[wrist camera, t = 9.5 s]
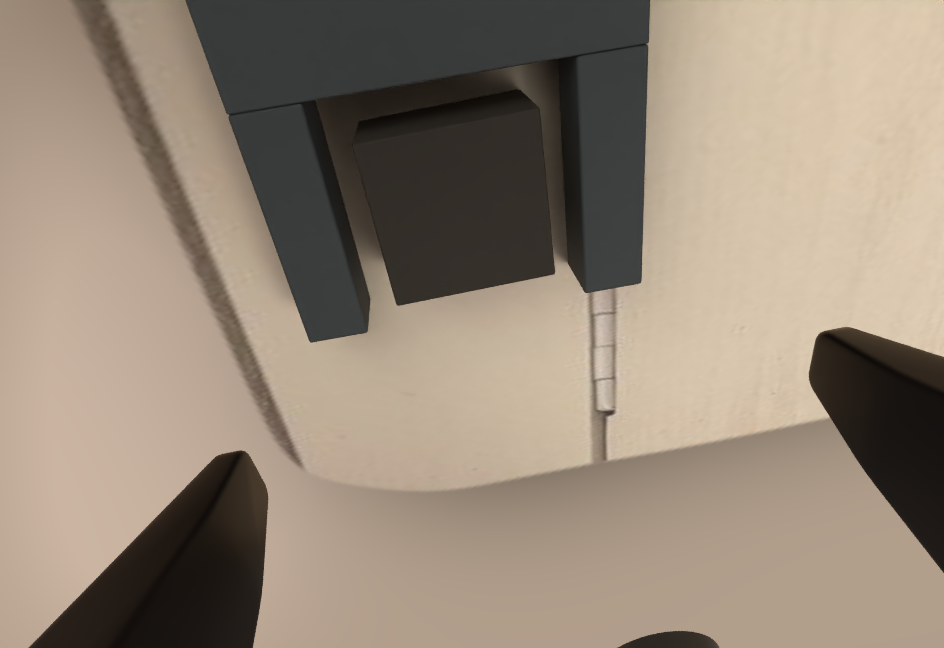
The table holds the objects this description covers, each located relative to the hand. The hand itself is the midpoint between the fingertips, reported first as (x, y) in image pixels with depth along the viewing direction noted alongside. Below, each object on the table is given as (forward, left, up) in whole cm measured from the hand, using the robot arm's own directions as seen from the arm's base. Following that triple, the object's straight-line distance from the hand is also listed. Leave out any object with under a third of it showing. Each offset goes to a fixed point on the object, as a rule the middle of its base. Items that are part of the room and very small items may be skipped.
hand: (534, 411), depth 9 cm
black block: (0, +1, -10) cm, 10 cm away
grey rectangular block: (+6, +15, -10) cm, 19 cm away
